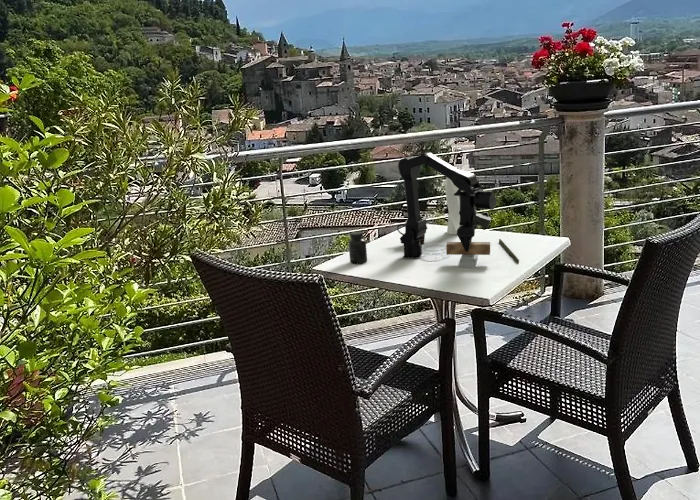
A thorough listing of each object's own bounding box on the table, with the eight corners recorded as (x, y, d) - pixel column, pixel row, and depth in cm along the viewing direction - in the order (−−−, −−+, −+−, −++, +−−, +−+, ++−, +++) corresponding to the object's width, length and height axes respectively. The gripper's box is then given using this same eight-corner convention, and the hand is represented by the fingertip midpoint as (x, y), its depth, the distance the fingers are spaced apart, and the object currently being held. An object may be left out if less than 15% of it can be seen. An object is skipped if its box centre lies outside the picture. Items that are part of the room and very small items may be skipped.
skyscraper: (468, 232, 303) (467, 170, 296) (459, 236, 297) (458, 173, 290) (451, 230, 308) (450, 169, 301) (442, 234, 302) (441, 172, 295)
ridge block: (459, 267, 252) (458, 257, 251) (461, 259, 262) (461, 249, 260) (475, 267, 251) (475, 257, 250) (477, 259, 260) (477, 249, 259)
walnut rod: (446, 254, 256) (446, 244, 254) (447, 252, 259) (447, 241, 258) (489, 254, 251) (489, 244, 250) (490, 252, 255) (490, 242, 254)
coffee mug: (430, 241, 290) (429, 219, 288) (421, 247, 283) (420, 223, 281) (406, 239, 296) (405, 217, 294) (396, 244, 289) (395, 221, 287)
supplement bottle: (358, 258, 272) (356, 229, 269) (370, 261, 267) (369, 232, 264) (346, 263, 268) (344, 233, 264) (358, 265, 263) (356, 235, 260)
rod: (519, 264, 253) (519, 259, 252) (516, 264, 253) (516, 259, 252) (500, 243, 283) (500, 238, 282) (498, 243, 283) (498, 238, 282)
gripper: (487, 213, 240) (488, 255, 244) (491, 202, 257) (491, 242, 261) (456, 213, 243) (457, 255, 247) (461, 202, 260) (462, 241, 264)
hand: (468, 248), depth 255 cm, fingers open, 9 cm apart
